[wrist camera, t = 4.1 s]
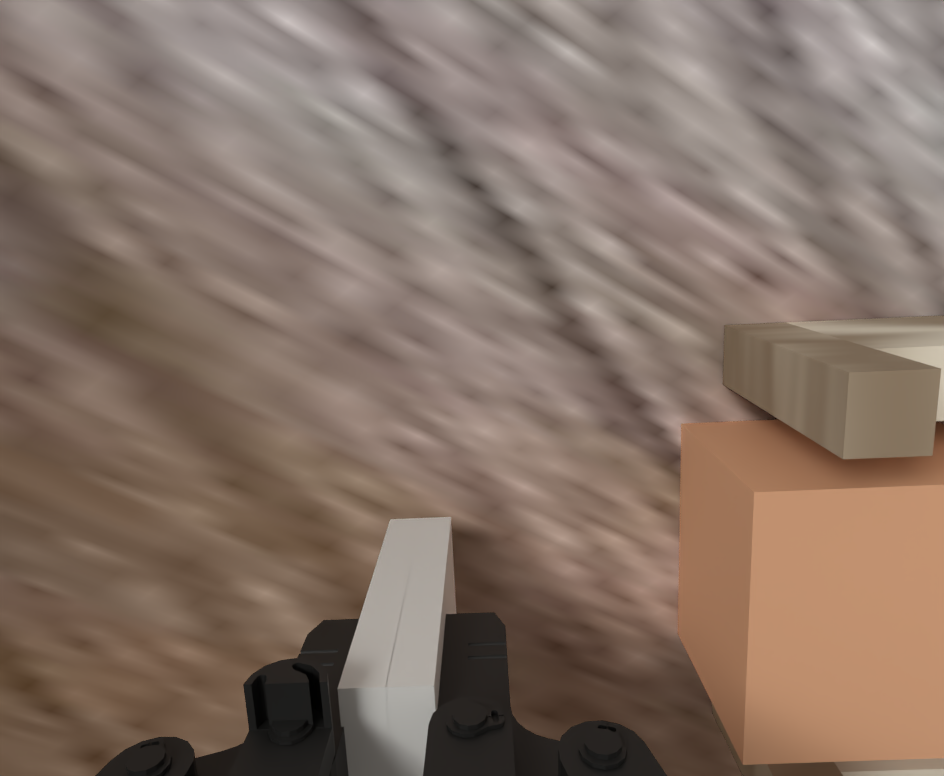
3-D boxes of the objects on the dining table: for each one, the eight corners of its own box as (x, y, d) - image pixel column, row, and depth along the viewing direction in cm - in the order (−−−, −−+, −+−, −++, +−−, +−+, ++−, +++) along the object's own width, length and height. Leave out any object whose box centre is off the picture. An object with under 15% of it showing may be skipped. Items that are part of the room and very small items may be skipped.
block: (676, 631, 19) (742, 764, 15) (680, 422, 18) (753, 492, 13) (895, 623, 19) (1036, 755, 14) (914, 412, 18) (1076, 479, 13)
